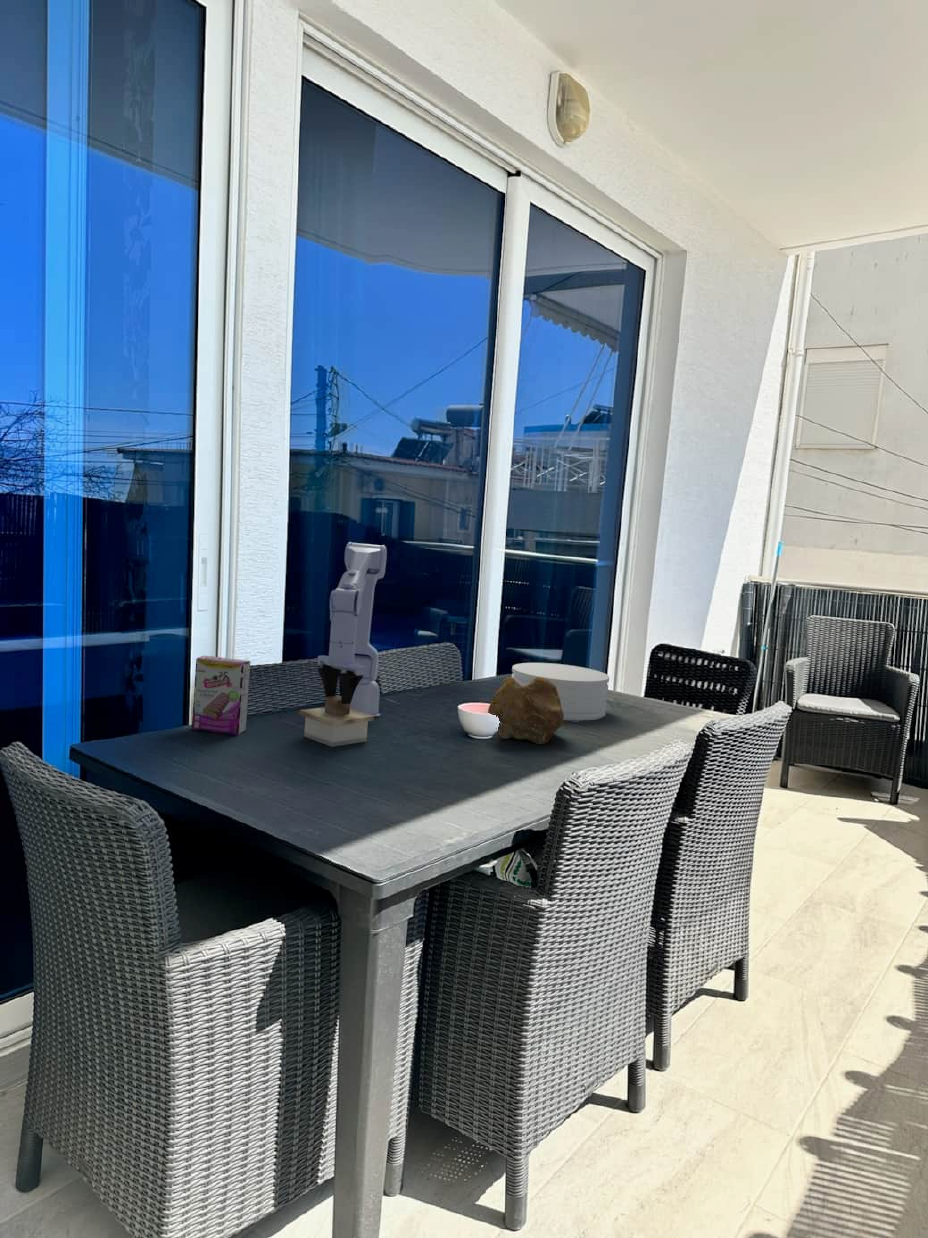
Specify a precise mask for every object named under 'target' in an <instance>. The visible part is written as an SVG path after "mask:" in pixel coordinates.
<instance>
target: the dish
mask: <svg viewBox="0 0 928 1238" xmlns="http://www.w3.org/2000/svg"><path fill="white" fill-rule="evenodd" d="M304 721H305V722H304V732H303V733H304V736H303V737H305V738H308V739H310V740H313V741H315V742H317V743H321V744H323V745H326V746H329V747H330V748H333V747H340V746H345V745H346V746H347V745H351V744H359V743H364V742H367V738H368V724H369V721H367V722H359V723H352V724H345V725H338V726H330V725H327V724H325V723H322V722H319V721H316V720H313V719H311V718H308V717H305V720H304Z"/></svg>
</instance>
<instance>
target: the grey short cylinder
mask: <svg viewBox="0 0 928 1238" xmlns="http://www.w3.org/2000/svg"><path fill="white" fill-rule="evenodd" d="M511 672H512V674H511V677H512V678H514V679H515V681H516V682H517V683H519V684H520V685H521V686H527V685H528V684H529V683H530V682H531V681H532V680H533V679H535V678H536V677H542V678H545V679H547V680H550V681H551V682H552V683H553V684H554V685H555V686H556V689H557V692H558V696H559V699H560V703H561V709H562V710H563V713H564V718H563V719H574V720H575V719H576V720H577V719H592V718H596V717H600V716H602V715H605V716H606V709H607V705H608V704H607V700H608V693H607V692H608V691H609V684H608V683H609V682H610V676H609V675H608V674H607V673H605V672H602V671H599V670H597V669H596V670H595V669H591V668H589V667H588V668H586V667H582V666H577V665H570V664H561V663H551V662H550V663H549V662H522V663H516V664H513V665H512V668H511Z"/></svg>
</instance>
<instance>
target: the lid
mask: <svg viewBox="0 0 928 1238" xmlns="http://www.w3.org/2000/svg"><path fill="white" fill-rule="evenodd" d="M324 699H325V701H324V706H323V707H316V708H314V707H313V708H307V709H305V708H304V709H299V712H298V713H299V716H303V717H305V718H306V717H308V718H311V719H313V720H316V721H319V722H322V723H325V724H327V725H330V726H338V725H345V724H352V723H359V722H367V721H368V722H373V721H375V717H374V716H372V715H369V714H366V713H363V712H360V711H357V710H354V709H351V708H350V704H342V700H341V695H335V696H331V697H326V696H325V698H324Z"/></svg>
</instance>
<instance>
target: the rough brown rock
mask: <svg viewBox="0 0 928 1238" xmlns="http://www.w3.org/2000/svg"><path fill="white" fill-rule="evenodd" d="M488 713H490V714H492V715H496V717H497V716H498V718H499V721H500V723H499V727H498V731H496V732H497V734H498V735H499V737H500V738H502V739H510V738H514V739H516V740H523V741H524V740H529V741H531V743H535V744H537V745H539V744H542V745H545V744H546V743H548V742H549V741H550V740H551V738H552V737H553V736H554V734H555V733H556V732H557V730H559V729H560V728H561V727H562V725H563V724H564V721H563V718H564V713H563V710H562V709H561V703H560V699H559V696H558V692H557V689H556V686H555V685H554V684H553V683H552V682H551V681H550V680H547V679H545V678H542V677H536V678H535V679H533V680H532V681H531V682H530V683H529V684H528V685H527V686H521V685H520V684H519V683H517V682H516V681H515V679H514V678H512V676H506V677H505V678H504V679H503V681H502V683H501V686H500V687H499V689H498V690H497V691H496V692H495V693H494V696H493V698H492V700H491V701H490V704H489V706H488V709H487V714H488Z"/></svg>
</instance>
